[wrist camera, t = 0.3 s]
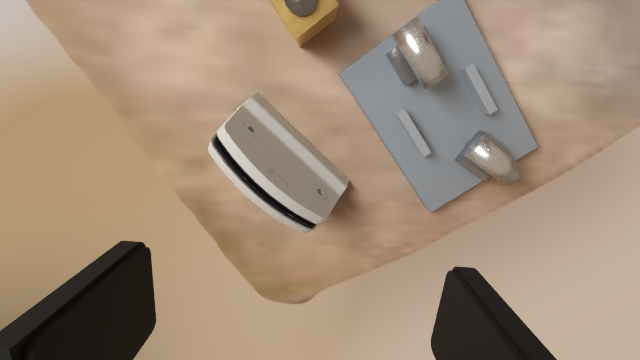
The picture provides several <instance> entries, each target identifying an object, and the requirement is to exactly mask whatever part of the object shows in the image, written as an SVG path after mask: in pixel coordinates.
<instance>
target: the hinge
mask: <svg viewBox="0 0 640 360" xmlns="http://www.w3.org/2000/svg"><path fill="white" fill-rule="evenodd" d="M208 151H209V153H210V154H211V156H212V157H213V159H214V160H215V162H216V163H217V164H218V165H219V167H220V168H221V169H222V171H223V172H224V173H225V174H226V175H227V177H228V178H229V179H230V180H231V181H232V182H233V183H234V184H235V185H236V186H237V187H238V188H239V189H240V190H241V191H242V192H243V193H244V194H245V195H246V196H247V197H248V198H249V199H250V200H252V201H253V202H254V203H255V204H256V205H258V206H259V207H260V208H261V209H263V210H264V211H265V212H267V213H268V214H270V215H271V216H273V217H274V218H276V219H277V220H279V221H280V222H282V223H284V224H285V225H287V226H289V227H291V228H293V229H295V230H297V231H300V232H302V233H306V232H309V231H312V230H314V229H315V228H316V226H317V225H320V224H322V223H323V222H324V221H325V220H326V219H327V218H328V216H329V215H330V213H331V211H332V209H333V208H334V206H335V204H336V203H337V201H338V199H339V198H340V196H341V195H342V193H343V192H344V191H345V189H346V188H347V187H348V183H349V180H348V179H347V178H346V177H345V176H344V175H343V174H342V173H341V172H340V171H339V170H338V169H337V168H336V167H335V166H334V165H333V164H332V163H331V162H330V161H328V160H327V159H326V158H325V157H324V156H323V155H322V154H321V153H320V152H319V151H318V150H317V149H316V148H315V147H314V146H313V145H312V144H311V143H310V142H309V141H307V140H306V139H305V138H304V137H303V136H302V135H301V134H300V133H299V132H298V131H297V130H296V129H295V128H294V127H293V126H292V125H291V124H290V123H289V122H288V121H287V120H285V119H284V118H283V117H282V116H281V115H280V114H279V113H278V112H277V111H276V110H275V109H274V108H273V107H272V106H271V105H270V104H269V103H268V102H267V101H266V100H264V99H263V98H262V97H261V96H260V95H259V94H258V93H256V94H254V95H253V96H251V97H250V98H249V99H248V100H247V101H245V102H244V103H243V104H242V105H241V106H239V107H238V109H237V110H236V111H235V112H234V113H233V114H232V115H231V116H230V117H229V118H228V119H227V121H226V122H225V123H224V124H223V125H222V126H221V127H220V128H219V129H218V131H217V133H216V134H215V135H214V136H213V137H212V139H211V141H210V144H209V147H208Z"/></svg>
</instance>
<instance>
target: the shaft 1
mask: <svg viewBox="0 0 640 360" xmlns="http://www.w3.org/2000/svg"><path fill="white" fill-rule="evenodd" d="M392 37H393V38H394V40H395V42H396V43H397V46H396V47H395V48H393V49H392V50H391V51H389V52H388V53H386V54H385V55H386V56H387V58H388V60H389V61H390V63H391V65H392V66H393V68H394V70H395V72H396V73H397V75H398V77H399V78H400V80H401V82H402V83H403V85H408V84H410V83H411V82H412V81H414V80H415V79H417V80H418V81H419V83H420V85H421V86H422V88H423V90H425V89H428V88H430V87H432V86H434V85H435V84H437V83H439V82H440V81H442V80H443V79H444V78H446V77H447V76H448V74H449V73H448V71H447V69H446V68H445V66H444V64H443V62H442V60H443V58H442V56H441V54H440V53H439V51H438V49H437V47H436V45H435V44H434V42H433V40H432V38H431V36H430V34H429V33H428V31H427V29H426V27H425V26H424V27H423V26H422V24H421V22H420V20H419V19H418V17H416V18H415V19H413V20H412V21H411V22H409V23H408V24H406V25H405V26H404V27H402V28H401V29H400V30H398V31H397V32H396V33H394V34H393V35H392Z"/></svg>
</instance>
